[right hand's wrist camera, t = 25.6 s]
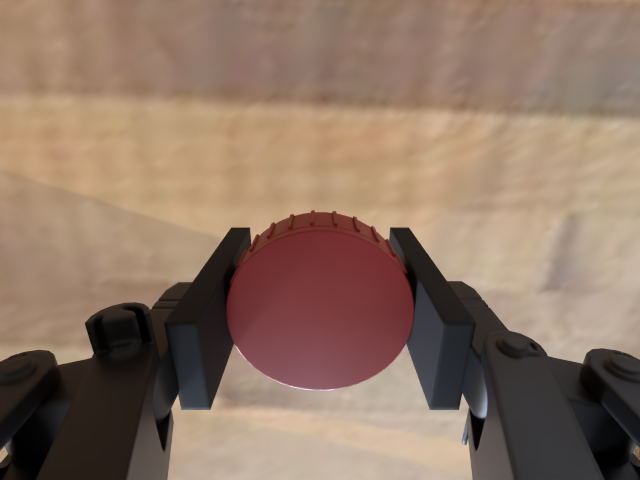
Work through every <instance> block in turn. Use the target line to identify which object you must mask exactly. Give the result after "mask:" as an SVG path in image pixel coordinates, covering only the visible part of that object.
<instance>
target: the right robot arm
mask: <svg viewBox="0 0 640 480" xmlns="http://www.w3.org/2000/svg"><path fill="white" fill-rule="evenodd" d="M389 242H390V244H391V246H392V248H393V250H394V252H395V254H396V255H398V256H399V258H400V259H401V261H402V263H403V265H404V267H405V269H406V271H407V273H406V274H405V275H406V277H407V279H408V281H409V283H410V285H411V287H412V293H413V299H414V319H413V326H412V330H411V333H410V336H409V338H408V340H407V342H406V344H407V347H408V350H409V353H410V355H411V358H412V361H413V364H414V367H415V369H416V372H417V375H418V378H419V381H420V383H421V386H422V389H423V392H424V394H425V397H426V400H427V403H428V406H429V408H430V410H459V406H460V401H461V396H462V393H463V395H464V397H465V399H466V401H467V403H468V405H469V411H468V415H467V420H466V424H465V429H464V434H463V439H462V444H465V445H466V444H467V440H469V450H470V459H471V468H472V477H473V480H640V461H639V460H638V458H637V457H636V456H635V455H634V454H633V451H634V449H635V447H636V444H637V445H638V446H639V448H640V360H639V359H637V358H635V357H633V356H631V355H629V354H626V353H624V352H623V353H622V352H620V351H616V350H609V349H602V348H601V349H592V350H591V351H589V352H588V353H587V354H586V356H585V359H584V362H583V364H581V363H576V362H571V361H567V360H562V359H557V358H553V357H549V356H547V354H546V352H545V351H544V349H543V348H542V347H541V345H539V344H538V343H536V342H535V341H534V340H532V339H531V338H529V337H526V336H524V335H522V334H519V333H516V332H512V331H509V330H508V329H507V328H506V327H505V326H504V324H503V323H502V322H501V321H500V320H499V318H498V317H497V316H496V315H495V314H494V312H493V311H492V310H491V309H490V308H488V305H487V304H486V303H485V301H484V300H482V298H481V297H480V295H479V294H478V293H477V292H476V291H475V289H473V288H472V287H470V286H468V285H467V284H465V283H463V282H462V281H446V279H445V278H444V277H443V275H442V274H441V272H440V271H439V269H438V268H437V267H436V265H435V264H434V262H433V261H432V260H431V258H430V257H429V255H428V254H427V253H426V251H425V250H424V248H423V247H422V246H421V244H420V243H419V241H418V240H417V239H416V237H415V236H414V234H413V233H412V231H411V230H410V229H409V228H390V238H389ZM250 246H251V235H250V228H231V229H230V230H229V232H228V233H227V235H226V236H225V237H224V239H223V240H222V242H221V243H220V244H219V246H218V247H217V249H216V250H215V252H214V253H213V254H212V256H211V257H210V259H209V260H208V261H207V263H206V264H205V266H204V267H203V268H202V270H201V271H200V273H199V274H198V275H197V277H196V278H195V280H194V281H193V282H179V283H177V284H175V285H174V286H172V287H171V288H169V289H167V290H166V291H165V292H164V294H163V295H162V296H161V297H160V298H159V301H157V302H156V303H155V304H154V306H153V307H152V309H150V310H149V307H147V306H146V305H144V304H141V303H122V304H118V305H114V306H111V307H108V308H105V309H103V310H100V311H99V312H97V313H96V314H94V315H92V316H91V317H90V318H89V319H88V320H87V321H86V322H85V326H86V329H87V332H88V335H89V339H90V342H91V345H92V348H93V352H94V354H93V356H92V358H90V359H86V360H81V361H76V362H71V363H66V364H61V365H58V364H57V361H56V358H55V356H54V354H52V353H51V352H50V351H45V350H35V351H28V352H23V353H20V354H16V355H13V356H11V357H9V358H7V359H5V360H3V361H1V362H0V451H1V449H2V448H3V447H4V446H5V448H6V450H7V452H8V455H7V456H6V457H5V458H4V460H3V461H2V462H1V463H0V480H167V478H168V469H169V460H170V450H171V441H172V432H173V423H174V422H173V415H172V411H171V407H172V405H173V403H174V401H175V399H176V397H177V395H179V400H180V405H181V410H210V409H211V406H212V403H213V401H214V398H215V395H216V392H217V390H218V387H219V384H220V381H221V378H222V376H223V373H224V370H225V367H226V364H227V362H228V359H229V356H230V353H231V350H232V348H233V345H234V342H233V340H232V337H231V335H230V332H229V329H228V325H227V317H226V300H227V295H228V291H229V288H230V286H229V282H230V280H231V278H232V276H233V274H234V273H235V271H236V269H237V267H236V266H237V264H238V262H239V260H240V258H241V256H242V254H243V253H244V251H245V249H246V250H248V249H249V247H250Z"/></svg>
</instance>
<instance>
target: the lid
mask: <svg viewBox="0 0 640 480" xmlns="http://www.w3.org/2000/svg"><path fill="white" fill-rule="evenodd" d="M236 267H237V269H236V271H235V273H234V274H233V276H232V278H231V280H230V282H229V286H230V288H229V291H228V295H227V300H226V317H227V325H228V329H229V332H230V335H231V337H232V340H233V342H234V344H235V345H236V347H237V349H238V350H239V352H240V353H241V354H242V356H243V357H244V358H245V359H246V360H247V361H248V362H249V363H250V364H251V365H252V366H253V367H254V368H256V369H257V370H258V371H260V372H261V373H262V374H264V375H266V376H267V377H269V378H271V379H273V380H275V381H277V382H280V383H282V384H285V385H288V386H291V387H296V388H301V389H308V390H333V389H340V388H345V387H349V386H352V385H355V384H358V383H361V382H363V381H365V380H368V379H369V378H371V377H373V376H375V375H376V374H378V373H379V372H381V371H382V370H383V369H385V368H386V367H387V366H388V365H389V364H390V363H392V362H393V361H394V360H395V358H396V357H397V356H398V355H399V354H400V352H401V351H402V349H403V348H404V346H405V344H406V342H407V340H408V338H409V336H410V333H411V330H412V326H413V319H414V299H413V293H412V287H411V285H410V283H409V281H408V279H407V277H406V275H405V274H406V273H407V271H406V269H405V267H404V265H403V263H402V261H401V259H400V258H399V256H398V255H396V254H395V252H394V250H393V248H392V246H391V244H390V242H389V240H388V239H386V240H385V239H384V238H383V237H382V236H381V235H380V234H379V233H377V232H376V230H375V227H373V226H372V227H369V226H368V225H366V224H364V223H362V222H360V221H358V220H357V217H353V218H351V217H348V216H344V215H340V214H336V211H333V213H327V212H315V211H311V213H306V214H300V215H296V216H294V214H292V215H290V218H287V219H285V220H282V221H280V222H278V223H276V224H275V223H274V222H273V223H272V224H271V226H270V228H268V229H267V230H266V231H264V232H263V233H262V234H261V235H260V236H259V235H258V234H257V235H256V237H255V239H254V241H253V243H252V245H251V246H250V247H249V249H248V250H246V249H245V251H244V253H243V254H242V256H241V258H240V260H239V262H238V264H237V266H236Z"/></svg>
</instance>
